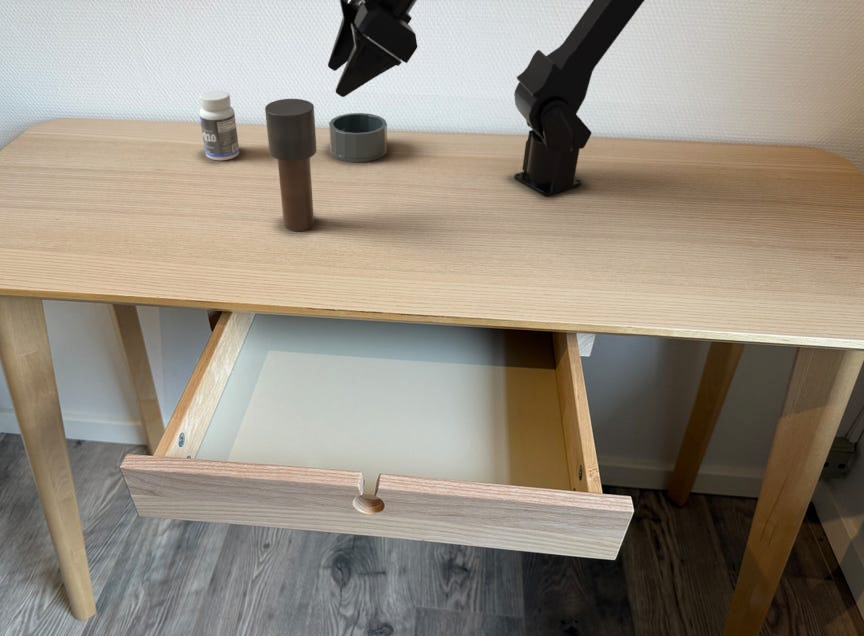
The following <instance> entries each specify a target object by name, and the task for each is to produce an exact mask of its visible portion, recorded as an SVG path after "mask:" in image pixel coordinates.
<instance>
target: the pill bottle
mask: <svg viewBox="0 0 864 636" xmlns="http://www.w3.org/2000/svg"><path fill="white" fill-rule="evenodd" d="M199 105H200V107H201V108H200V110H199V113H198V114H199V115H198V116H199V121H200V127H201V133H202V140H203V147H204V152H205V155H206V157H207V158H208V159H210V160H212V161H227V160H231V159H234V158H236V157H237V156H239V154H240V147H239V146H240V145H239V138H238V130H237V123H236V121H237V120H236V113H235V110H234V108H233V107H232V106H231V97H230V93H229V92H228V91H226V90H223V89H222V90H221V89H211V90H210V89H209V90H206V91H203V92H201V93H200V94H199Z"/></svg>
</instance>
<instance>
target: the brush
mask: <svg viewBox="0 0 864 636" xmlns="http://www.w3.org/2000/svg"><path fill="white" fill-rule="evenodd" d="M264 110H265V122H266V132H267V141H268V150H269V151H268V152H269V155H270V156H271V157H272V158H274V159H276V160H277V169H278V178H279V188H280V189H279V190H280V200H281V209H282V219H283V220H282V221H283V226H284V228H285V229H286V230H288V231H292V232H304V231H307V230H310V229H312V228H314V226H315V213H314V198H313V184H312V171H311V158H313V156H315V155H316V153H317V151H318V150H317V135H316V119H315V106H314V103H312V102H311V101H308V100H305V99H300V98H282V99H278V100H277V99H276V100H273V101H271V102H269V103H267V104H266V105H265V107H264Z"/></svg>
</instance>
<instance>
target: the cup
mask: <svg viewBox="0 0 864 636" xmlns="http://www.w3.org/2000/svg"><path fill="white" fill-rule="evenodd" d="M328 131H329V132H328V135H329V149H330V154H331V155H332V157H334V158H335V159H337V160H340V161H344V162H347V163H348V162H349V163H366V162H368V163H369V162H373V161H376V160H379V159H381V158H382V157H384V156H385V155H386V154H387V147H388V123H387V121H386V119H385V118H383V117H381V116H380V115H376V114H373V113H366V112H365V113H364V112H353V113H346V114H345V113H344V114H340V115H337V116H335V117H333V118H331V120H330V121H329V122H328Z"/></svg>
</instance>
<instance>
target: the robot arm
mask: <svg viewBox="0 0 864 636" xmlns="http://www.w3.org/2000/svg"><path fill="white" fill-rule="evenodd" d="M338 1H339V6H340V9H341V15H342V18H341V22H340V25H339V29H338V32H337V35H336V37H335V41H334V44H333V48H332V50H331V53H330V56H329V60H328V63H327V67H328V68H329V69H331V70H332V71H334V72H336V71H338V70H339V69H340V68H341V67H343V66H344V65H345V66H344V68H343V70H342V73H341V74H340V75H341V76H340V77H339V80H338V82H337V85H336V87H335V93H336V95H338V96H340V97H341V98H345V97H347V96H349V94H351V93H353V92H355V91H356V90H357V89H359V88H361V87H362V86H364V85H365V84H367V83H369V82H370V81H372V80H373V79H375V78H376V77H379V76H380V75H382V74H383V73H385V72H387V71H388V70H391V69H393V68H394V67H396V66H397V67H399V66H400V65H401V64H402V63H406V64H408V62H409V61H410V59H411V58H412V57H413V55H414V53H415V52H416V51H417V49H418V41H417V34H416V32H415V31H414V30H413V28H412V26H411V25H410V24H409V23H410V22H411V20H412V19H413V18H412V16H411V15H410V12H411V10H412V9H413V8H414V6H415V5H416V3H417V2H418V0H338ZM644 2H645V0H592V2H590V4H589V6H588V7H587V8H586V10H585V11H584V13H583V14H582V15H581V17H580V18H579V19H578V21H577V22H576V24H575V26H574V27H573V29H572V30H571V31H570V33H569V34H568V35H567V37H566V38H565V40H564V41H563V42H562V43H561V45H560V46H558V47H557V48H555V49H554V50H553V51H551V52H550V53H548V54H547V55H546V54H545V53H543V51H541V50H540V49H537V50H536V51H535V53H534V54H533V55H532V57H531V59H530V61H529V63H528V65H527V66H526V68H525V69H524V70H523V72H521V73H520V74H519V75H517V76H516V80H517V81H518V84H517V86H516V87H515V90H514V93H513V96H514V104H515V107H516V109H517V111H518V112H519V113H520V114H521V116H522V117H523V118H524V119H525V122H526V125H527V126H528V127H529V128H530V129H531V130H528V136H527V140H526V141H525V147H524V153H523V154H524V155H523V163H522V171H521V172H517V173H514V175H513V179H514V180H515V181H518V182H519V183H521V184H523V185H525V186H526V187H528V188H530V189H532V190H534V191H535V192H537V193H538V194H541V195H542V196H552V195H555V194H558V193H561V192H564V191H567V190H570V189H574V188H577V187H580V186H582V185H583V180H582V179H579V178H578V177H576V171H577V165H578V160H579V154H580V149H581V150H582V149H584V148H585V147H586V145H587V144H588V141H589V139H590V137H591V136H592V131H591V130H590V129H589V127H588V126H587V125H586V123H584V121H583V120H582V119H581V118H580V117H579V116H578V115H577V114H578V111H580V108H581V107H582V104H583V103H584V101H585V100H586V97H587V93H588V89H589V86H590V83H591V79H592V75H593V72H594V70H595V68H596V67H597V65H598V64H599V62H600V61H601V60H602V59H603V57H604V56H605V54H606V53H607V52H608V50H609V49H610V48H611V46H612V45H613V44H614V42H615V41H616V40H617V38H618V37H619V36H620V34H621V33H622V31H623V30H624V29H625V28H626V26H627V25H628V24H629V22H630V21H631V20H632V18H633V17H634V15H636V13H637V11H638V10H639V9H640V7H641V6H642V4H643V3H644Z"/></svg>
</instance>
